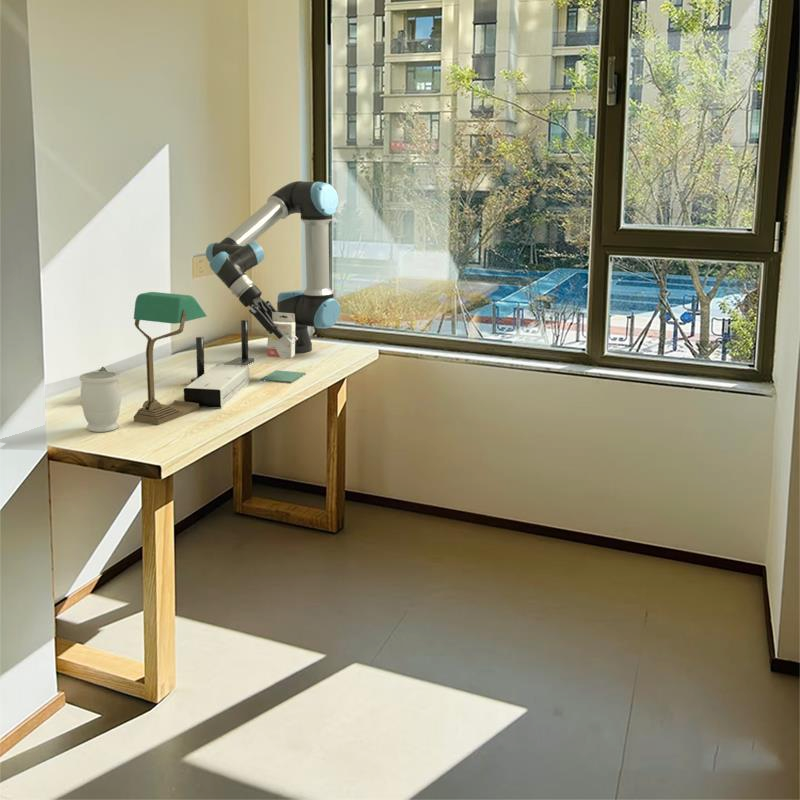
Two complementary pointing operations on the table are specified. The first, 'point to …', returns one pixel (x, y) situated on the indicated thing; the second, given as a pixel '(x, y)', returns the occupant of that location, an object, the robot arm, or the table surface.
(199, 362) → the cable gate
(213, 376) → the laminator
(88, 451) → the table surface
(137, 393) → the table surface
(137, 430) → the table surface
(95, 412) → the jar
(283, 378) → the green mat
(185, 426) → the table surface
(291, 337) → the ink cartridge box
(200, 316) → the banker's lamp
